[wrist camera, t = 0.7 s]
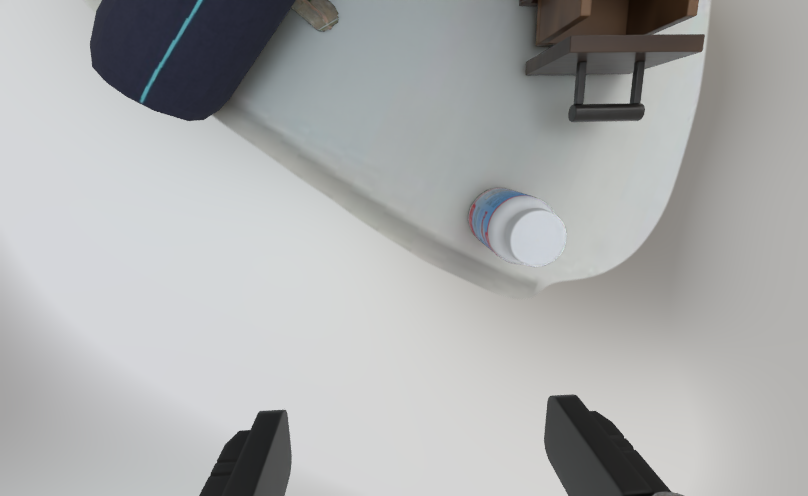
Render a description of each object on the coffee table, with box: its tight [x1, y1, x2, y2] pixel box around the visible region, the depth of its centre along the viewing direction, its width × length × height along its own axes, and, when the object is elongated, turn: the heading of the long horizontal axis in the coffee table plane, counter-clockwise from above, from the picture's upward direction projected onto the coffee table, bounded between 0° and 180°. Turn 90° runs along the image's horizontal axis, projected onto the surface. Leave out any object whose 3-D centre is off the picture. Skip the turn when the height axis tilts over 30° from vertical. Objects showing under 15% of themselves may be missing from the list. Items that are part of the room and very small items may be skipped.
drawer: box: [526, 0, 705, 122], centre depth 32 cm, size 19×10×9 cm, turn 1°
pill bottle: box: [468, 188, 567, 267], centre depth 36 cm, size 6×6×11 cm
